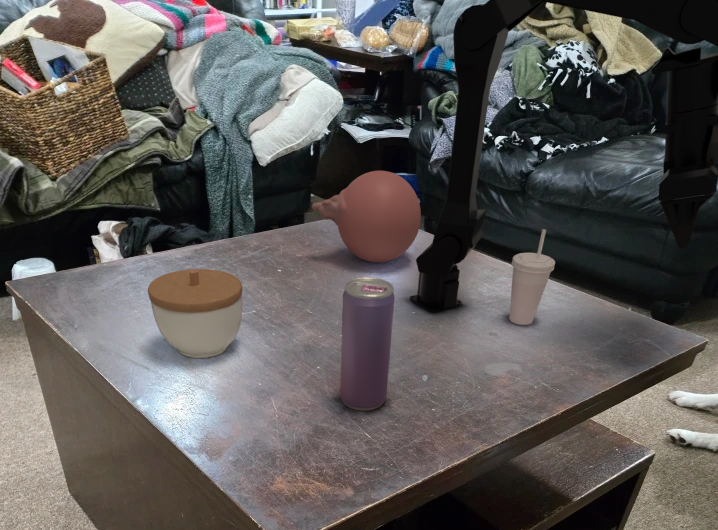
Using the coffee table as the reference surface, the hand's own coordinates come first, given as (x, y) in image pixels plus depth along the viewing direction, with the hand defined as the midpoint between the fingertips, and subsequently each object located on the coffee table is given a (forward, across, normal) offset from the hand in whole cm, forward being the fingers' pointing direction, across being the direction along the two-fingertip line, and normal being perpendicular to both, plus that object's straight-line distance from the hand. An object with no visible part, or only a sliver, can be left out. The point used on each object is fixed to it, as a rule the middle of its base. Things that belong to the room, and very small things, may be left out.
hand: (684, 238), depth 87 cm
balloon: (+1, +14, +54) cm, 56 cm away
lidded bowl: (-1, -31, +62) cm, 69 cm away
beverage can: (+6, -34, +36) cm, 50 cm away
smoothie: (+10, 0, +23) cm, 25 cm away
